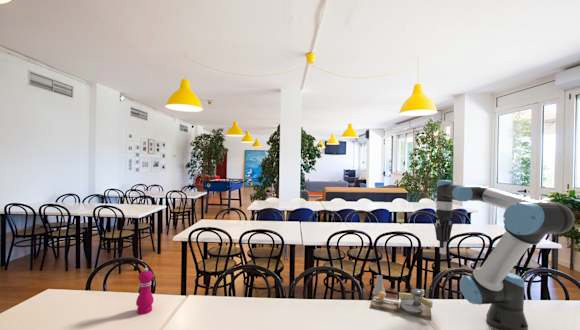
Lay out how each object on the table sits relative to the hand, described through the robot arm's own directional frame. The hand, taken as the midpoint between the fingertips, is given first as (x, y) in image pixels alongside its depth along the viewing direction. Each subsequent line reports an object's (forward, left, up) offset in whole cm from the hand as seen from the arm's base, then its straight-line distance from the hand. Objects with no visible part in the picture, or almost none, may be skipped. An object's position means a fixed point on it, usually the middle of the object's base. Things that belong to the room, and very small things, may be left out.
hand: (442, 253), depth 157 cm
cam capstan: (+11, +21, -23) cm, 33 cm away
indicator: (+25, +19, -23) cm, 39 cm away
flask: (+31, +8, -25) cm, 40 cm away
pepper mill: (+128, +76, -25) cm, 151 cm away
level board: (+20, +20, -24) cm, 37 cm away
